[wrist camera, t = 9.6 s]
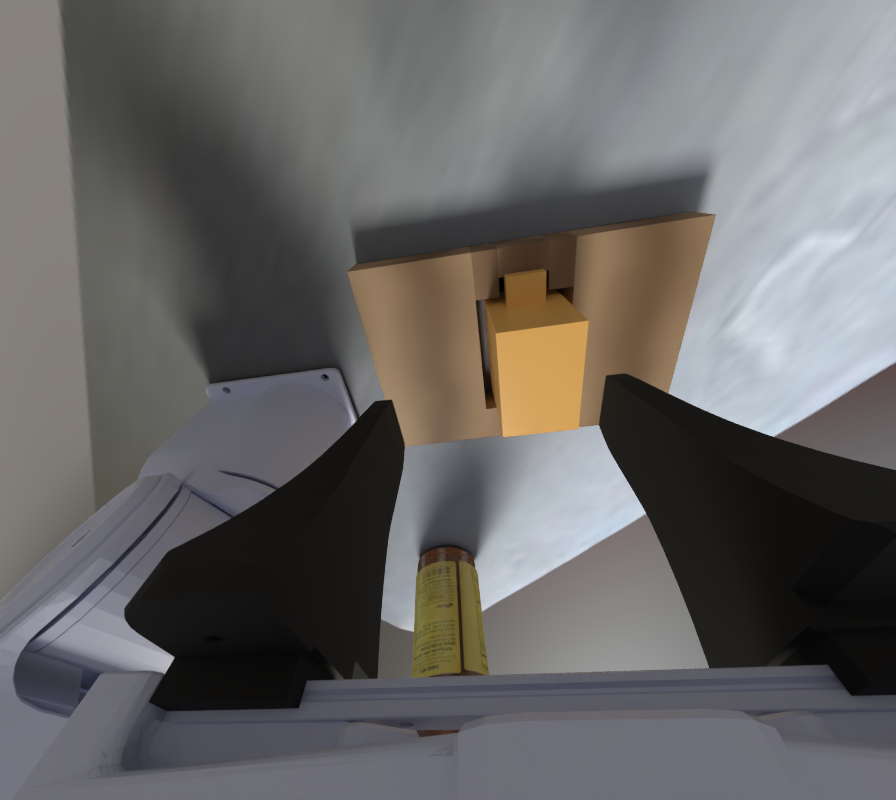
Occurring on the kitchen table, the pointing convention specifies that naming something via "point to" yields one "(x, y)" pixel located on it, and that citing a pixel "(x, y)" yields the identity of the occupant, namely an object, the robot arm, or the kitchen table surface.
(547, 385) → the block
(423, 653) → the sauce bottle
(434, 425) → the pocket board
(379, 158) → the kitchen table surface
